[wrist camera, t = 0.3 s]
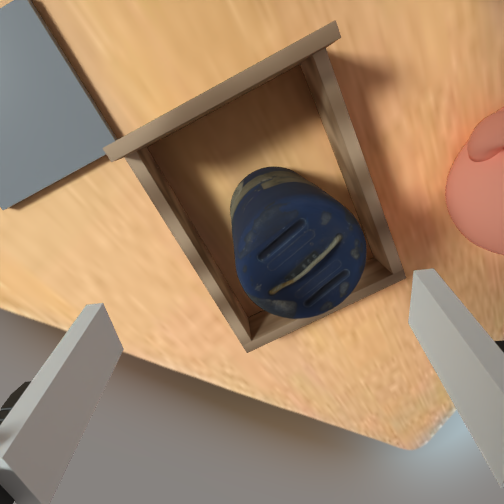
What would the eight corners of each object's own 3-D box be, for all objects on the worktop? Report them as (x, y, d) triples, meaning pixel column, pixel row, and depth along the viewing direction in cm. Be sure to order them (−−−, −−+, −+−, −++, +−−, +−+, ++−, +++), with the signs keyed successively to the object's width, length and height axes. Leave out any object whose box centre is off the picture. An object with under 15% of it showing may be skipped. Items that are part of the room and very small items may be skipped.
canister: (324, 222, 40) (399, 295, 23) (253, 259, 41) (277, 355, 24) (290, 148, 37) (350, 171, 20) (213, 190, 38) (209, 245, 21)
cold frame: (130, 141, 35) (102, 148, 27) (306, 45, 33) (335, 20, 25) (244, 328, 44) (250, 377, 36) (385, 260, 43) (426, 294, 34)
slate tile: (-99, 75, 31) (-109, 74, 30) (29, -2, 30) (23, -6, 29) (8, 207, 36) (3, 210, 35) (121, 146, 35) (119, 147, 34)
